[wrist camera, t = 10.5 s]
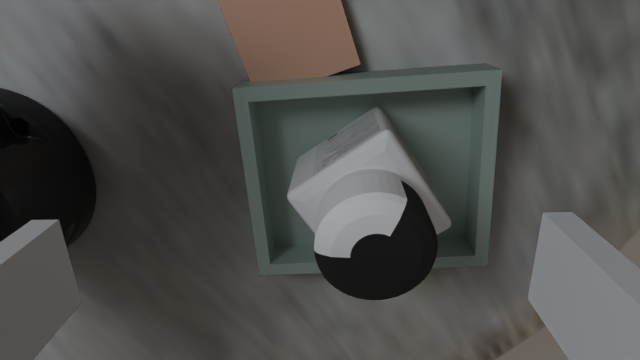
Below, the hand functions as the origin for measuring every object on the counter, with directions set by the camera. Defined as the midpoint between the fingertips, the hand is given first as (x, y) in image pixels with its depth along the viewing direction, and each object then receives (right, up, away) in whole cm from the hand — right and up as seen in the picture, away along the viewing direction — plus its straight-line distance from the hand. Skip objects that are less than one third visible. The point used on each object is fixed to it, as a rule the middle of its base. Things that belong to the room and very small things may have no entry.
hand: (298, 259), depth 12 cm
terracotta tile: (-2, +13, +19) cm, 23 cm away
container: (+4, +3, +22) cm, 23 cm away
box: (+4, +3, +23) cm, 23 cm away
